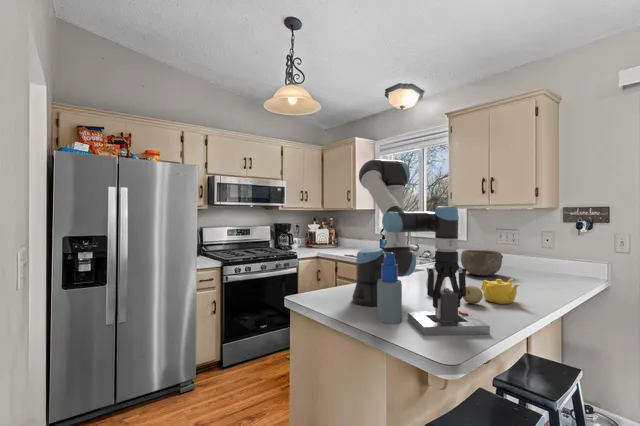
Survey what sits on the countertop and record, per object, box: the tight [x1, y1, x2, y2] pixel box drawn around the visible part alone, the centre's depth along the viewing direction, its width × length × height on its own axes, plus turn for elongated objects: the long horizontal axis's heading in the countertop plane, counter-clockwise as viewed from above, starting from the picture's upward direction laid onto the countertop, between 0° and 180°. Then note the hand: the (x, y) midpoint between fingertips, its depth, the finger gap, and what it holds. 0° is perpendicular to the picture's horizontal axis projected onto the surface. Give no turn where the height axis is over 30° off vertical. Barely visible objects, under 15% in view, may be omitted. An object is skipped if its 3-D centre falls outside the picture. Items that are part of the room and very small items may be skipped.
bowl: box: [460, 249, 504, 276], centre depth 210 cm, size 24×24×15 cm
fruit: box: [462, 284, 484, 305], centre depth 145 cm, size 8×8×8 cm
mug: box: [425, 270, 447, 290], centre depth 163 cm, size 12×8×10 cm
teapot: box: [480, 278, 520, 305], centre depth 149 cm, size 14×13×10 cm
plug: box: [438, 287, 459, 321], centre depth 116 cm, size 6×6×10 cm
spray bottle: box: [376, 252, 403, 325], centre depth 123 cm, size 9×9×25 cm
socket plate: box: [407, 310, 491, 337], centre depth 116 cm, size 22×16×4 cm
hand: (446, 316), depth 116 cm, fingers closed on plug, 5 cm apart
